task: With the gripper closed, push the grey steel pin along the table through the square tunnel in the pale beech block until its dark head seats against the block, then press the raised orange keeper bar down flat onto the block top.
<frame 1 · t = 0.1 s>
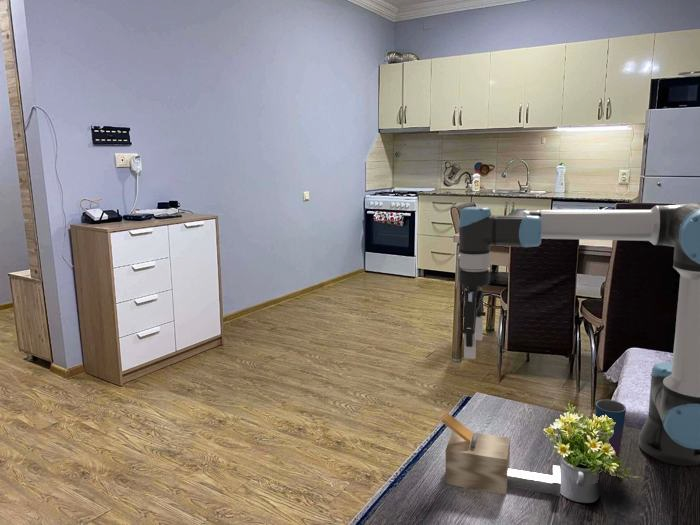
hand: (473, 348, 137), 28 cm above the table, fingers open, 13 cm apart
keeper: (459, 429, 128), point 12 cm above the table, hinge at 35.0°
block: (477, 477, 129), on the table
pin: (516, 484, 126), on the table
cup: (607, 461, 134), on the table
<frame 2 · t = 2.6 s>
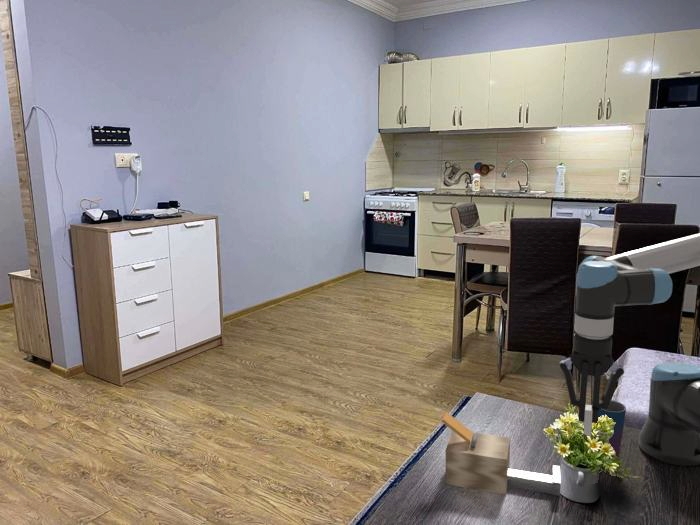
hand: (586, 434, 117), 15 cm above the table, fingers closed
nothing on the table moved.
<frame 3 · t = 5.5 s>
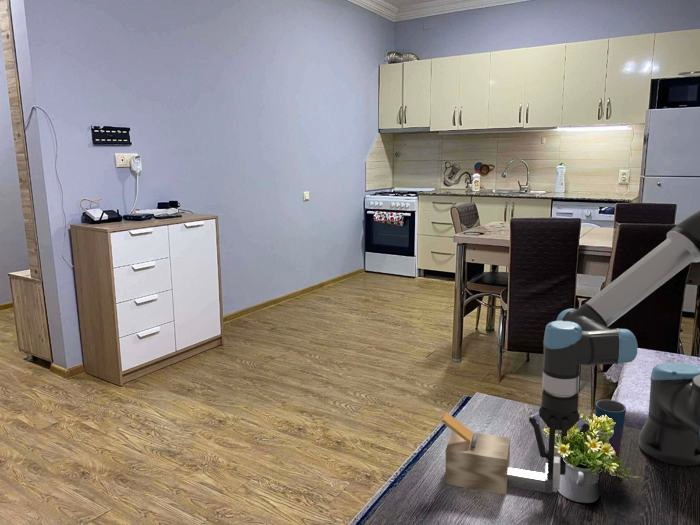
hand: (555, 485, 122), 2 cm above the table, fingers closed
pin: (509, 482, 126), on the table, touching gripper
everything else where it was.
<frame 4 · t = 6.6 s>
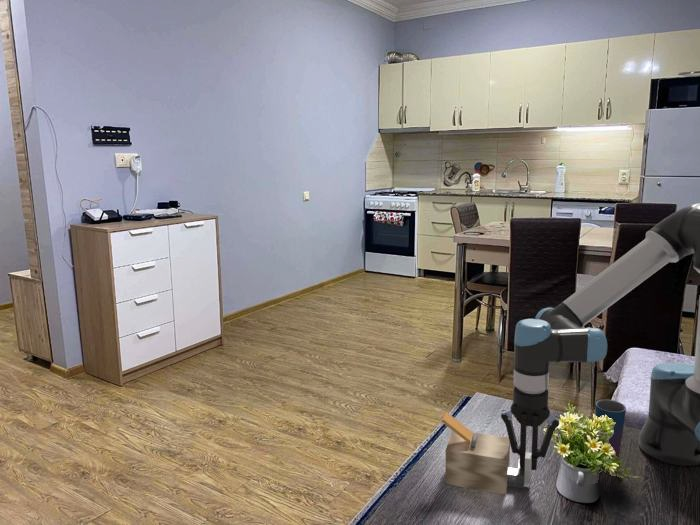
hand: (527, 480, 124), 2 cm above the table, fingers closed
pin: (483, 477, 129), on the table, touching gripper
everything else where it was.
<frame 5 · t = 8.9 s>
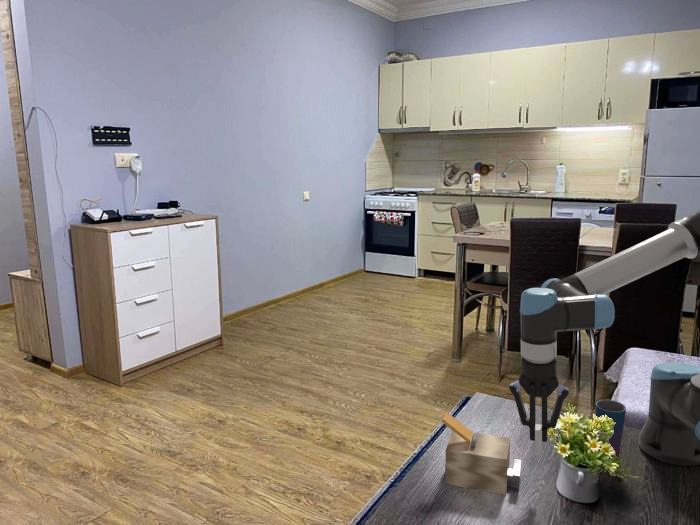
hand: (538, 452, 123), 9 cm above the table, fingers closed
pin: (478, 477, 129), on the table
everything else where it was.
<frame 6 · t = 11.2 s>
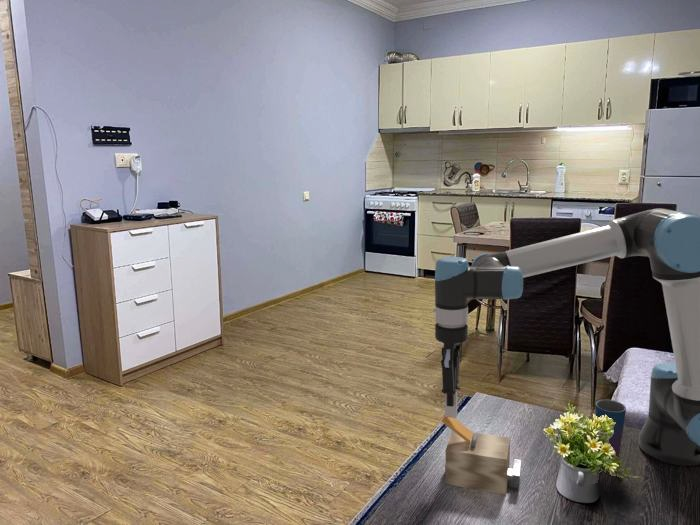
hand: (451, 416, 128), 15 cm above the table, fingers closed
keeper: (459, 429, 128), point 12 cm above the table, hinge at 35.0°, touching gripper
everything else where it was.
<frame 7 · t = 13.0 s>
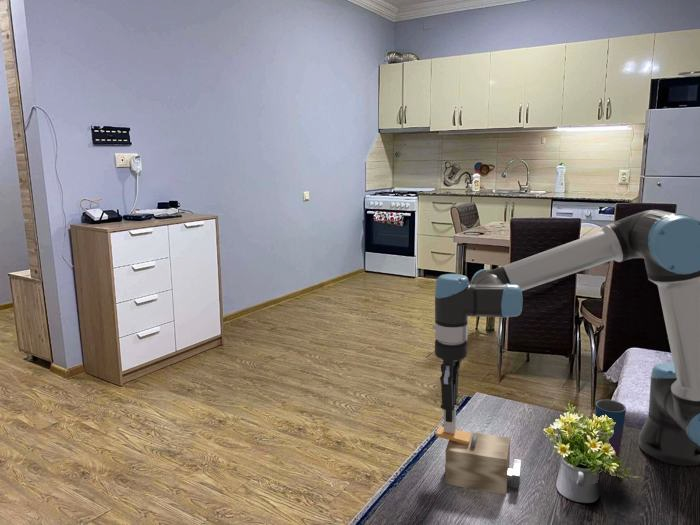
hand: (449, 431, 129), 11 cm above the table, fingers closed
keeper: (456, 435, 129), point 10 cm above the table, hinge at 7.4°, touching gripper
everything else where it was.
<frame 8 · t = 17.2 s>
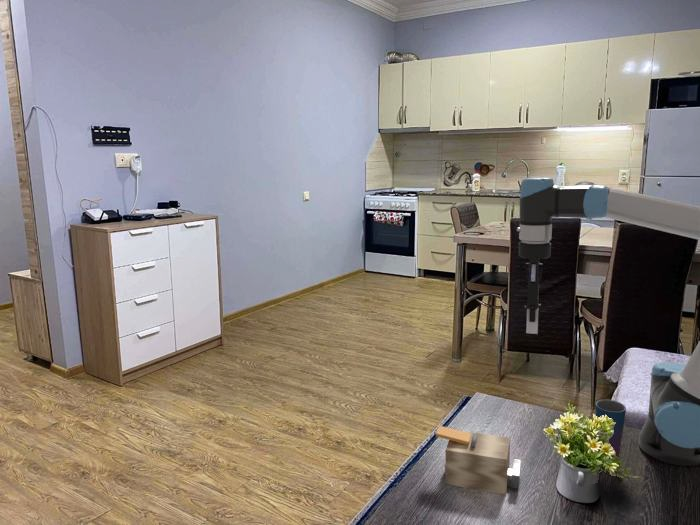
hand: (531, 332, 134), 32 cm above the table, fingers closed
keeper: (456, 435, 129), point 10 cm above the table, hinge at 7.1°
everything else where it was.
at the end: pin 1.4 cm from the target spot, on the table; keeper at +7° (first picture: +35°) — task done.
